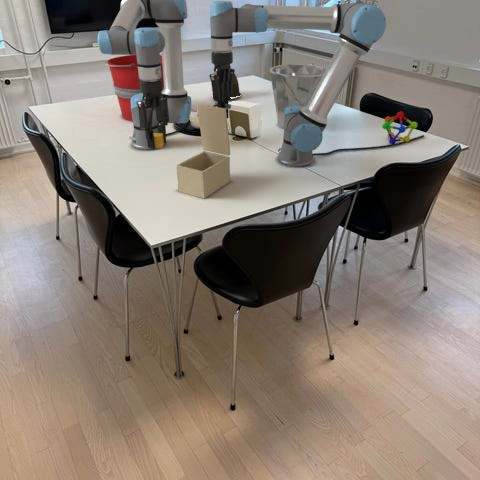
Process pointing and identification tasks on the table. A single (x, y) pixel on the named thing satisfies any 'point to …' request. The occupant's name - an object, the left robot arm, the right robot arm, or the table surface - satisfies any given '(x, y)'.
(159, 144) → the block
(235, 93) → the bell
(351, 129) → the table surface
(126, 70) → the bucket
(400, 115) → the educational toy
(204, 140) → the lid
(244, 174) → the table surface
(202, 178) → the chest
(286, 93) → the bucket
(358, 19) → the right robot arm
